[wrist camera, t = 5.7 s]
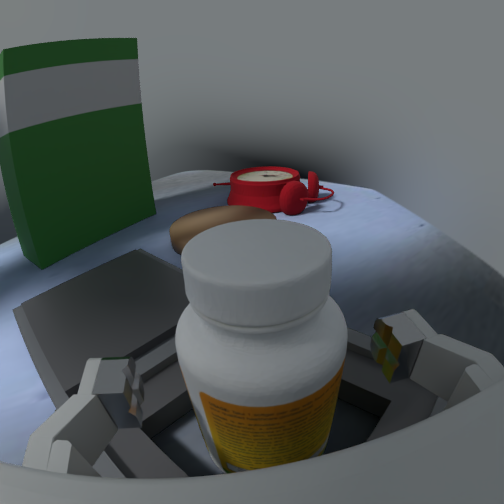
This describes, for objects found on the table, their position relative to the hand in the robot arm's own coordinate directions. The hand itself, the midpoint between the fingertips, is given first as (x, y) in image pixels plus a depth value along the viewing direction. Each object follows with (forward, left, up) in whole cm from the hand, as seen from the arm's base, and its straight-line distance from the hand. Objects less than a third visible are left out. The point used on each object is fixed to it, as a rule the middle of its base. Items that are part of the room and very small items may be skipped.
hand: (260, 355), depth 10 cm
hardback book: (-34, +6, -6) cm, 35 cm away
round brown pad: (-18, +15, -6) cm, 24 cm away
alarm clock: (-20, +27, -6) cm, 35 cm away
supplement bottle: (0, 0, -6) cm, 6 cm away
